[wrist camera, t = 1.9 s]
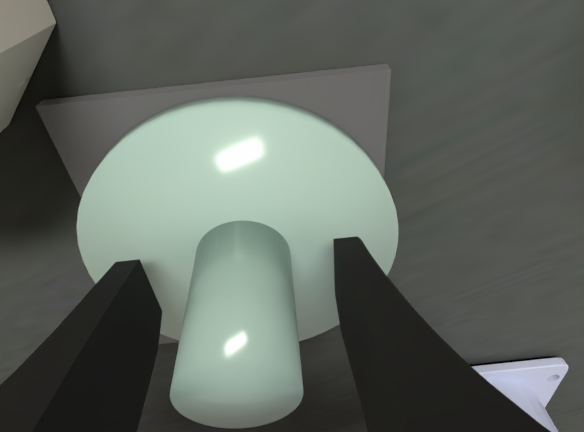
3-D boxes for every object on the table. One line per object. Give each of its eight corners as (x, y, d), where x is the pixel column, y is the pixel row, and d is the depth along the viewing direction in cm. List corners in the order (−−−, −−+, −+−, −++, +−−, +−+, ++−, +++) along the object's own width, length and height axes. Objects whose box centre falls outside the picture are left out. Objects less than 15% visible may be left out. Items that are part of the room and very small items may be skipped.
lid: (382, 316, 14) (427, 463, 10) (144, 341, 14) (102, 498, 10) (403, 76, 9) (508, 194, 5) (26, 116, 9) (-143, 264, 5)
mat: (371, 312, 15) (373, 321, 14) (156, 335, 15) (153, 344, 14) (386, 63, 9) (391, 69, 9) (43, 99, 9) (35, 106, 9)
